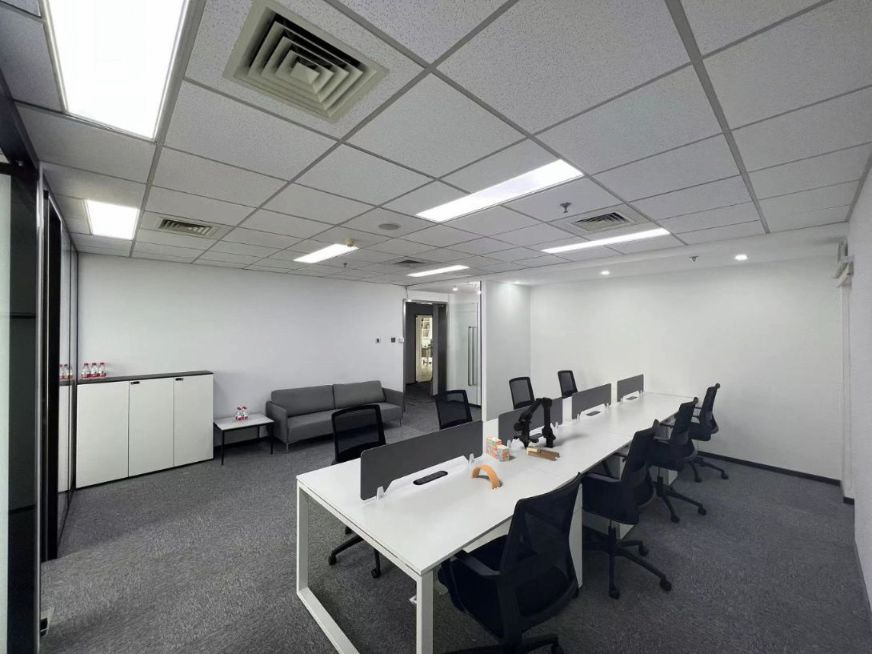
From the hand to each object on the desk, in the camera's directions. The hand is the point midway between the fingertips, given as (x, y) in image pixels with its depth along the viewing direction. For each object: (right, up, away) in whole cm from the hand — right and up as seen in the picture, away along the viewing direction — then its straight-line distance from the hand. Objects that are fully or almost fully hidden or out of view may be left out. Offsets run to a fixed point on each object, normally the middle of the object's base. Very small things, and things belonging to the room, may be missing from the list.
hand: (526, 449), depth 268 cm
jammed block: (+4, -2, -4) cm, 6 cm away
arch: (-39, -2, -53) cm, 66 cm away
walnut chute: (+11, -2, -8) cm, 14 cm away
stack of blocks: (-24, -3, -9) cm, 25 cm away
